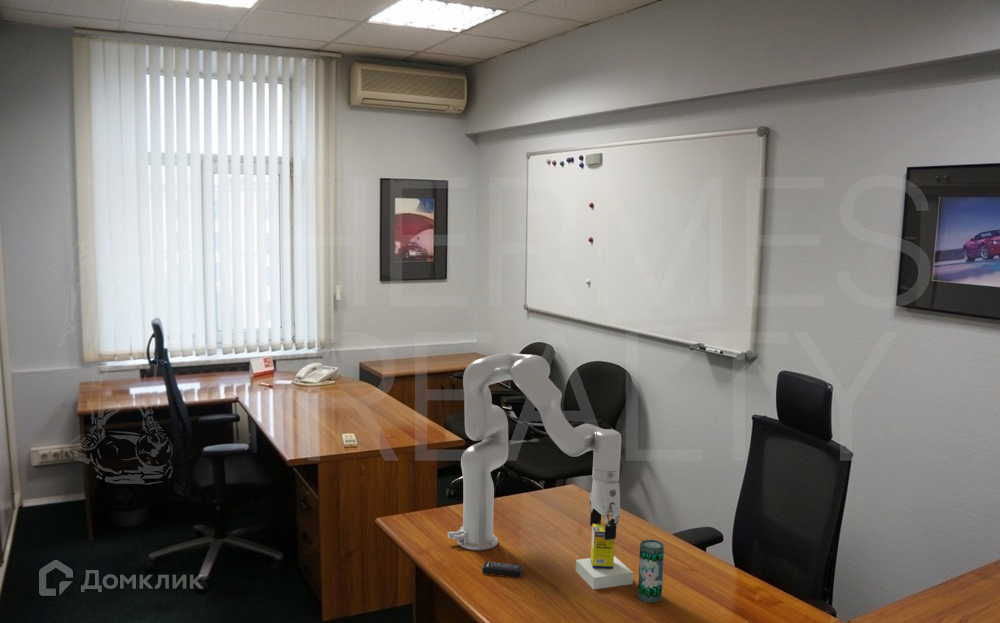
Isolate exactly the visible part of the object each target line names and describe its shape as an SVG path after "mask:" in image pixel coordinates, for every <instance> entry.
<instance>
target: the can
mask: <svg viewBox="0 0 1000 623" xmlns="http://www.w3.org/2000/svg"><path fill="white" fill-rule="evenodd" d="M664 554H665V543H664V542H662V541H661V540H657V539H648V538H646V539H643V540H641V541H640V543H639V562H638V563H639V564H638V565H639V566H638V588H637V589H638V591H637V598H638V599H640V600H641V601H642V602H644V603H649V602H650V603H651V604H653V602H655V603H660V602H661V601H662V599H661V598H663V580H664V579H663V578H664V561H665V560H664V558H665V555H664ZM659 600H660V601H659ZM657 601H658V602H657Z"/></svg>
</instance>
